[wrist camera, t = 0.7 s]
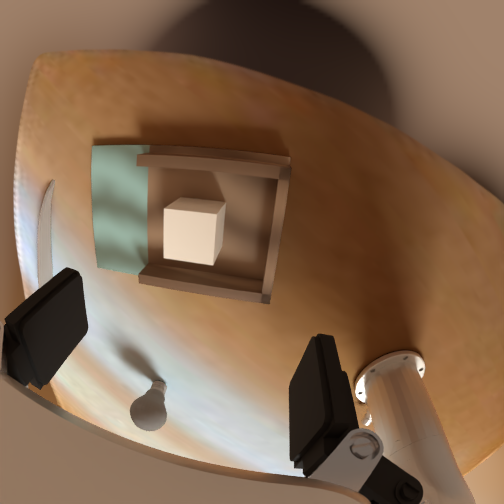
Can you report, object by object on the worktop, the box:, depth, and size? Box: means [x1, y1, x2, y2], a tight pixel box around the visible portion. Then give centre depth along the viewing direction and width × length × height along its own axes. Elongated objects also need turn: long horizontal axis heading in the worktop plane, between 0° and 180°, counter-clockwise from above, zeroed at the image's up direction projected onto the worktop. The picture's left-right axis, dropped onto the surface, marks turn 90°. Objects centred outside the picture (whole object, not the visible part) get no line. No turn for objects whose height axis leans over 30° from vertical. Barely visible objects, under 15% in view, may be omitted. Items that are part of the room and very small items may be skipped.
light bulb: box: [130, 381, 167, 431], centre depth 38 cm, size 6×6×10 cm
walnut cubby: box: [91, 145, 291, 304], centre depth 29 cm, size 16×23×4 cm
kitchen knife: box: [38, 180, 55, 288], centre depth 35 cm, size 4×1×30 cm
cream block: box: [164, 197, 226, 265], centre depth 28 cm, size 5×5×5 cm
